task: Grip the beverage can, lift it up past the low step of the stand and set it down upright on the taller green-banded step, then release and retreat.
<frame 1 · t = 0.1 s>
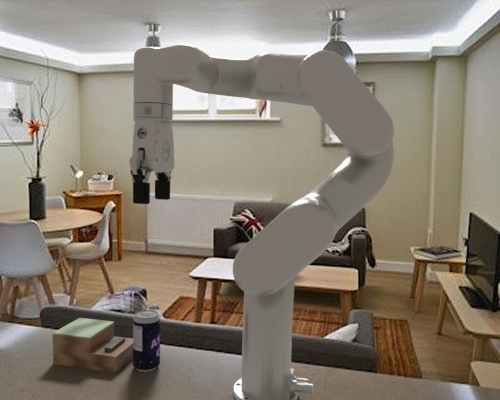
hand: (152, 201, 94), 37 cm above the table, tool pointing down, fingers open, 9 cm apart
beverage can: (146, 368, 102), on the table
stand: (96, 358, 106), on the table
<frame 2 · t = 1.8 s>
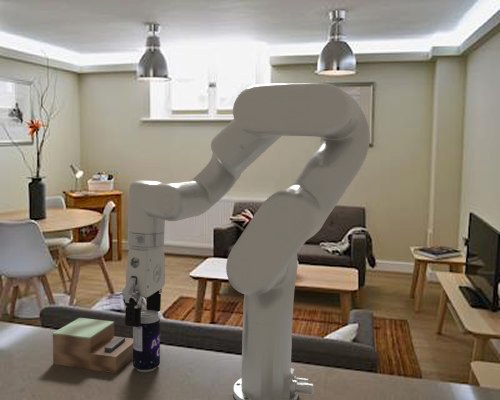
hand: (143, 318, 101), 11 cm above the table, tool pointing down, fingers open, 9 cm apart
nothing on the table moved.
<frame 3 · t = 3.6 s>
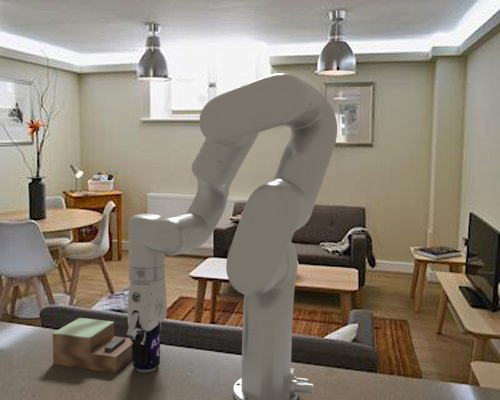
hand: (146, 354, 101), 3 cm above the table, tool pointing down, fingers closed on beverage can, 5 cm apart
beverage can: (146, 368, 102), on the table, touching gripper
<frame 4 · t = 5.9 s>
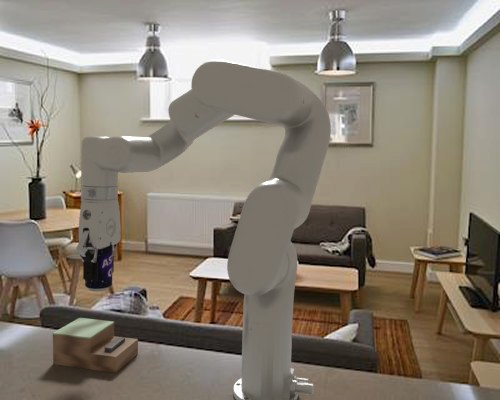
hand: (98, 275, 103), 19 cm above the table, tool pointing down, fingers closed on beverage can, 5 cm apart
beverage can: (98, 289, 104), point 16 cm above the table, touching gripper
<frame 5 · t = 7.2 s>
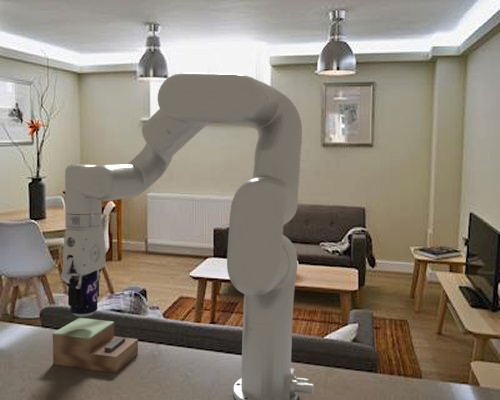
hand: (84, 300, 105), 13 cm above the table, tool pointing down, fingers closed on beverage can, 5 cm apart
beverage can: (84, 314, 105), point 10 cm above the table, touching gripper
when the fingers open (11 cm above the table, at t = 8.4 s): beverage can drops 1 cm, resting on stand.
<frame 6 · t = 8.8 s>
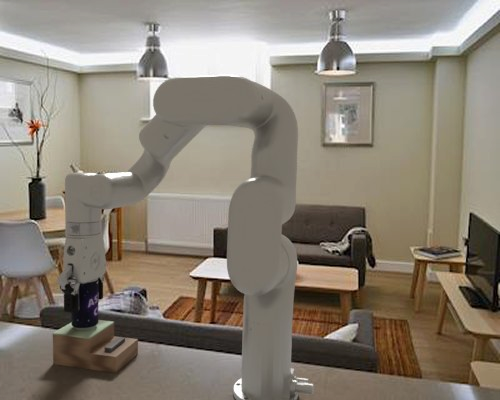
hand: (84, 304, 105), 12 cm above the table, tool pointing down, fingers open, 9 cm apart
beverage can: (85, 328, 106), point 7 cm above the table, touching stand
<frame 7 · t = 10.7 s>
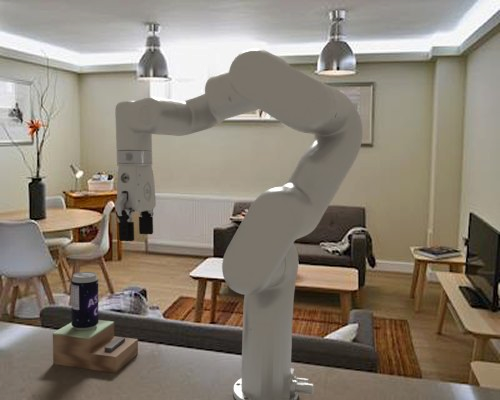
hand: (136, 237, 104), 28 cm above the table, tool pointing down, fingers open, 9 cm apart
nothing on the table moved.
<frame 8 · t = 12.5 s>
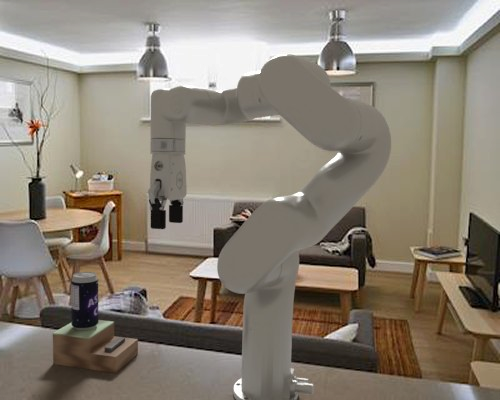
hand: (167, 225, 104), 30 cm above the table, tool pointing down, fingers open, 9 cm apart
nothing on the table moved.
at the end: beverage can inside the target area (0.7 cm from its centre), point 6.8 cm above the table; beverage can tilted 0°; the gripper is holding nothing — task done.
